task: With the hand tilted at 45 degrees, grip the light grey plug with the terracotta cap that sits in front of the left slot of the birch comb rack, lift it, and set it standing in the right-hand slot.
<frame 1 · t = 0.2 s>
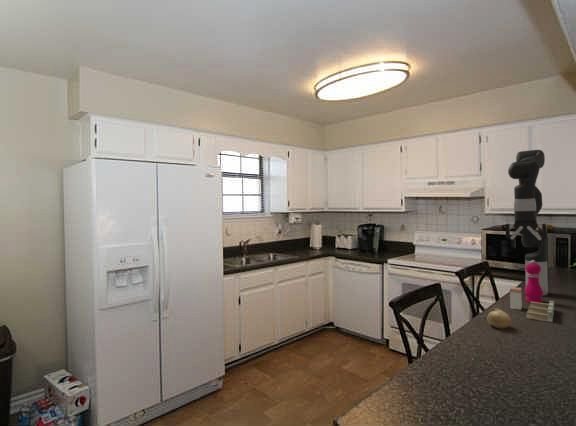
hand: (526, 248, 142), 29 cm above the countertop, tool pointing down, fingers open, 8 cm apart
onion: (499, 327, 134), on the countertop
plug: (516, 307, 155), on the countertop
comb rack: (538, 313, 146), on the countertop
pepper mill: (533, 301, 164), on the countertop
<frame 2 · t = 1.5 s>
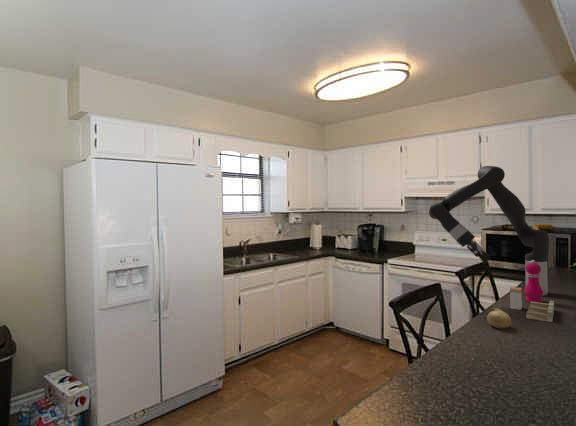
hand: (488, 260, 161), 21 cm above the countertop, tool tilted 45°, fingers open, 8 cm apart
nothing on the countertop moved.
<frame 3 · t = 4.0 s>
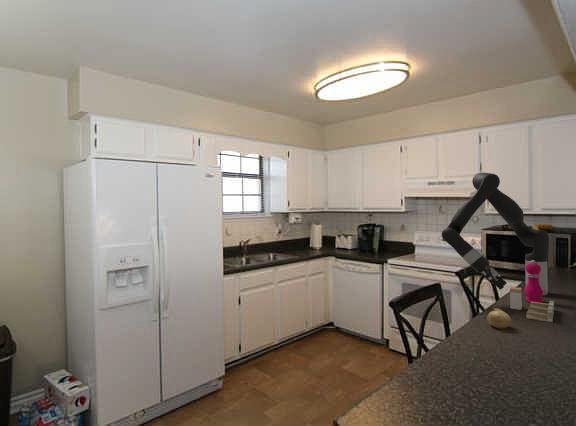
hand: (503, 286, 158), 9 cm above the countertop, tool tilted 45°, fingers open, 8 cm apart
nothing on the countertop moved.
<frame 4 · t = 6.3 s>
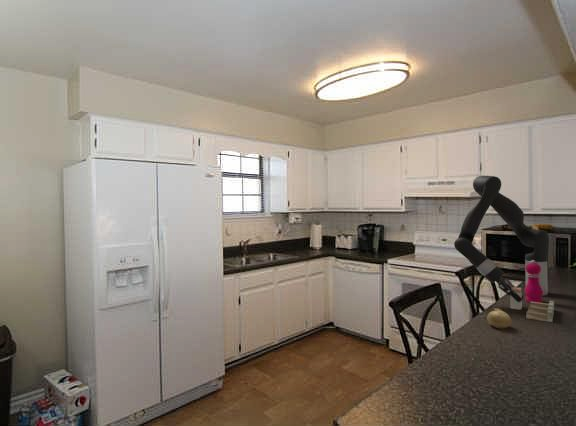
hand: (521, 299, 154), 4 cm above the countertop, tool tilted 45°, fingers closed on plug, 4 cm apart
plug: (516, 307, 155), on the countertop, touching gripper
everything else where it was.
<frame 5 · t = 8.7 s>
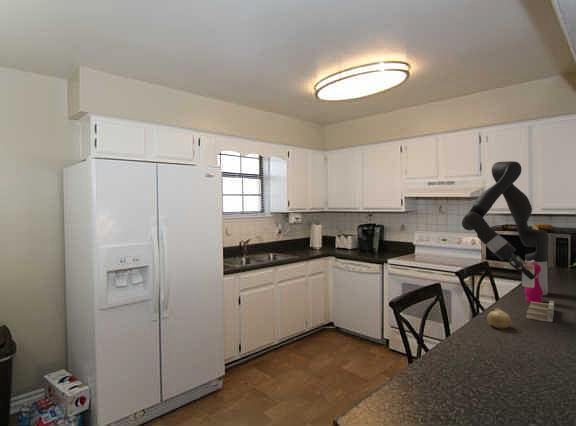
hand: (533, 277, 145), 16 cm above the countertop, tool tilted 45°, fingers closed on plug, 4 cm apart
plug: (528, 286, 146), point 12 cm above the countertop, touching gripper
everything else where it was.
when the fingers open (5 cm above the countertop, at t = 11.3 s): plug drops 1 cm, resting in comb rack.
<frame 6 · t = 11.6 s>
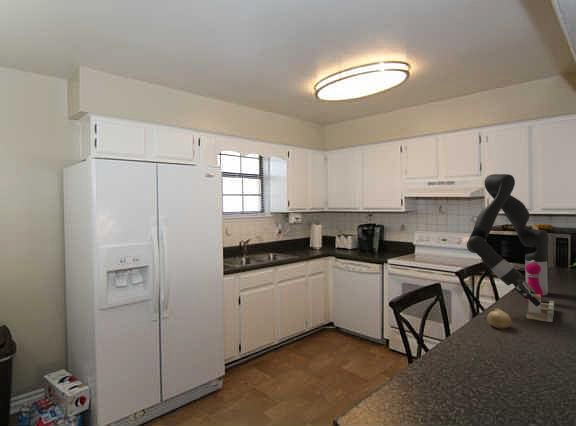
hand: (539, 302, 143), 6 cm above the countertop, tool tilted 45°, fingers open, 6 cm apart
plug: (534, 316, 144), resting in comb rack
everything else where it was.
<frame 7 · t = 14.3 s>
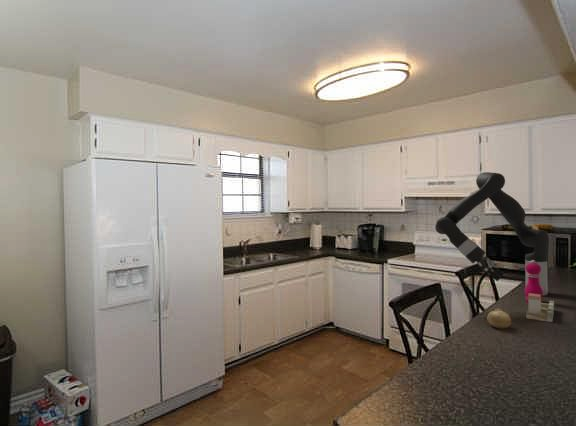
hand: (500, 277, 151), 15 cm above the countertop, tool tilted 45°, fingers open, 8 cm apart
nothing on the countertop moved.
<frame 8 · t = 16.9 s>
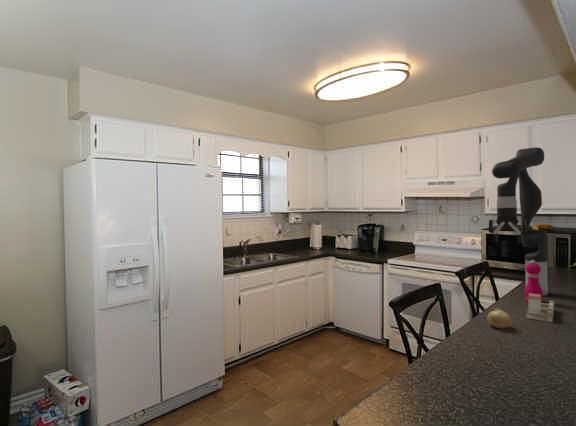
hand: (507, 242, 154), 30 cm above the countertop, tool pointing down, fingers open, 8 cm apart
nothing on the countertop moved.
at the end: plug 0.5 cm from the target spot on the comb rack, point 0.0 cm above the comb rack's base; plug tilted 0°; the gripper is holding nothing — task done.
